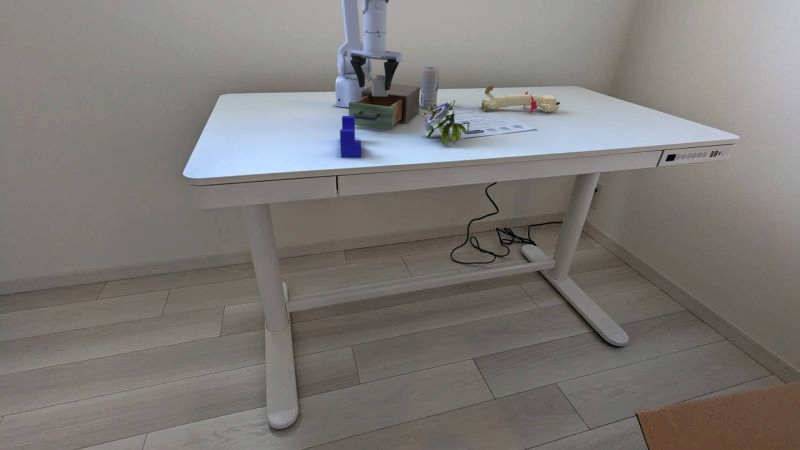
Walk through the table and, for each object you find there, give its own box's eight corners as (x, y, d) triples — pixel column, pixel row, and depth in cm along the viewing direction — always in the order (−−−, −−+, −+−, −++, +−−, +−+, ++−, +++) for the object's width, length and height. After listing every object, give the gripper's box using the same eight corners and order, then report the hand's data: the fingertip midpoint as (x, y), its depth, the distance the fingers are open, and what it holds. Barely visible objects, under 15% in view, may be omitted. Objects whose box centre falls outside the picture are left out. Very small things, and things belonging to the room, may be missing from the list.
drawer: (386, 135, 100) (386, 112, 97) (342, 128, 103) (341, 106, 100) (406, 118, 114) (407, 97, 111) (366, 112, 117) (366, 92, 114)
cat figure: (485, 117, 125) (564, 113, 124) (487, 89, 120) (569, 85, 120) (479, 109, 133) (553, 105, 133) (481, 82, 129) (557, 78, 128)
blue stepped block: (361, 157, 89) (360, 131, 86) (341, 157, 88) (339, 131, 85) (361, 139, 99) (360, 116, 96) (343, 139, 99) (342, 115, 95)
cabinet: (405, 123, 112) (406, 96, 108) (361, 117, 116) (361, 91, 112) (418, 111, 123) (420, 86, 119) (378, 106, 127) (378, 82, 123)
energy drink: (436, 105, 131) (439, 67, 125) (436, 109, 126) (439, 70, 120) (420, 104, 131) (422, 66, 125) (419, 108, 127) (421, 69, 120)
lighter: (387, 94, 107) (387, 63, 103) (387, 96, 106) (388, 64, 102) (361, 94, 106) (360, 63, 102) (361, 96, 105) (360, 64, 101)
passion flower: (427, 156, 105) (419, 113, 106) (467, 149, 105) (458, 106, 106) (431, 146, 94) (421, 98, 94) (475, 137, 94) (465, 89, 95)
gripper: (341, 31, 97) (343, 88, 104) (396, 35, 93) (395, 94, 100) (353, 29, 102) (354, 83, 109) (405, 33, 99) (403, 88, 106)
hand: (374, 88), depth 105 cm, fingers closed on lighter, 7 cm apart
